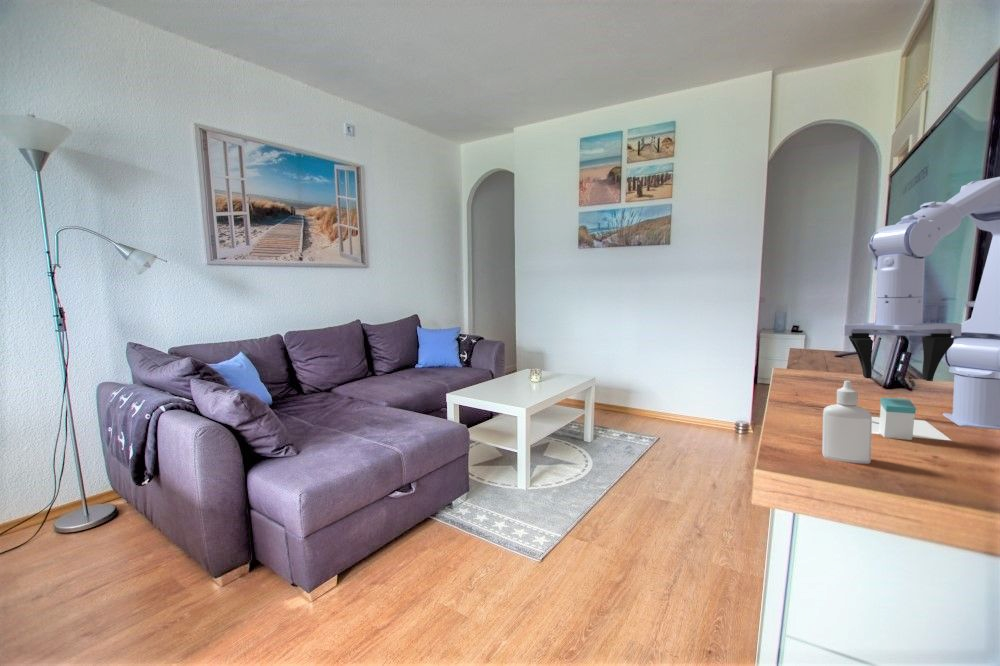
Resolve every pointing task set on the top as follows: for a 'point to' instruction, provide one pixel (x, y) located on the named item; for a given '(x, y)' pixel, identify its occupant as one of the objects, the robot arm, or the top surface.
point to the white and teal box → (897, 418)
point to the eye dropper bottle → (847, 428)
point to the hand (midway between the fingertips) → (896, 378)
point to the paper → (915, 430)
